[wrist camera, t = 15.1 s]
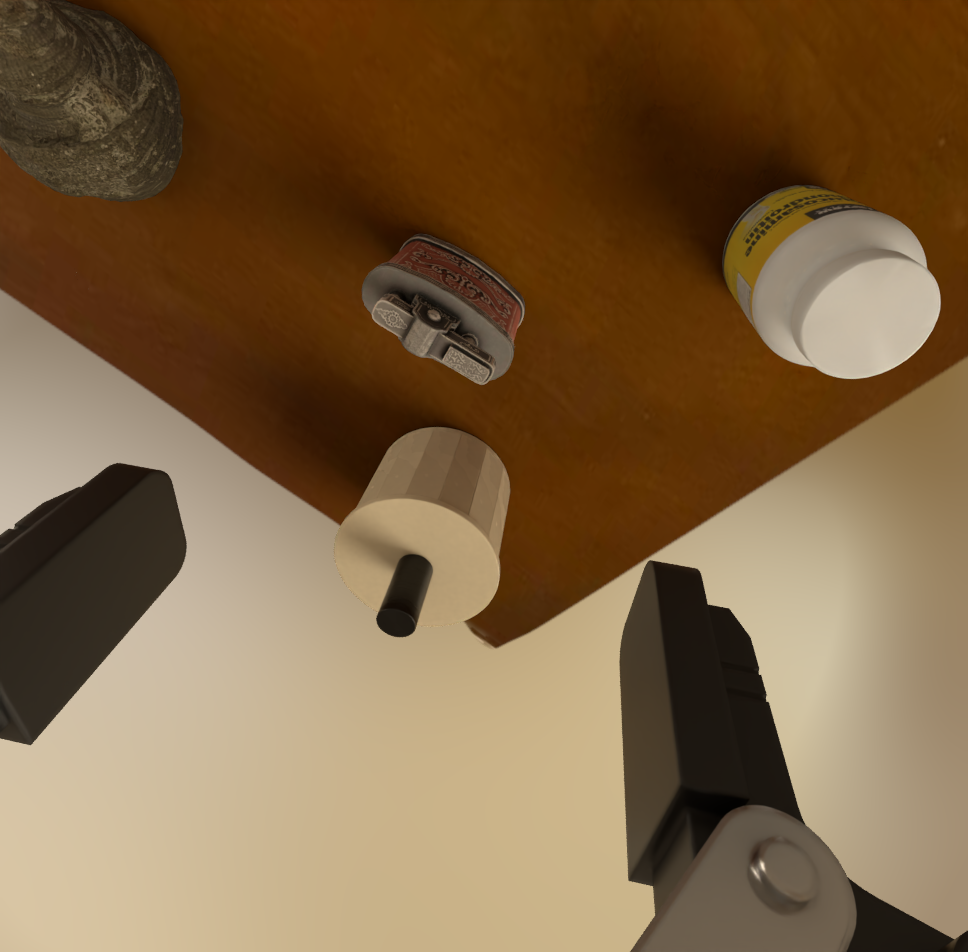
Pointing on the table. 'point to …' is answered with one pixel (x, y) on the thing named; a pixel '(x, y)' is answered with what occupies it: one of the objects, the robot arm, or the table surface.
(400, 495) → the pot lid
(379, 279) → the lighter
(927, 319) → the pill bottle
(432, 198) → the table surface
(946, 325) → the table surface
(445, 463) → the pot
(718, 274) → the table surface
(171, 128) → the seashell
